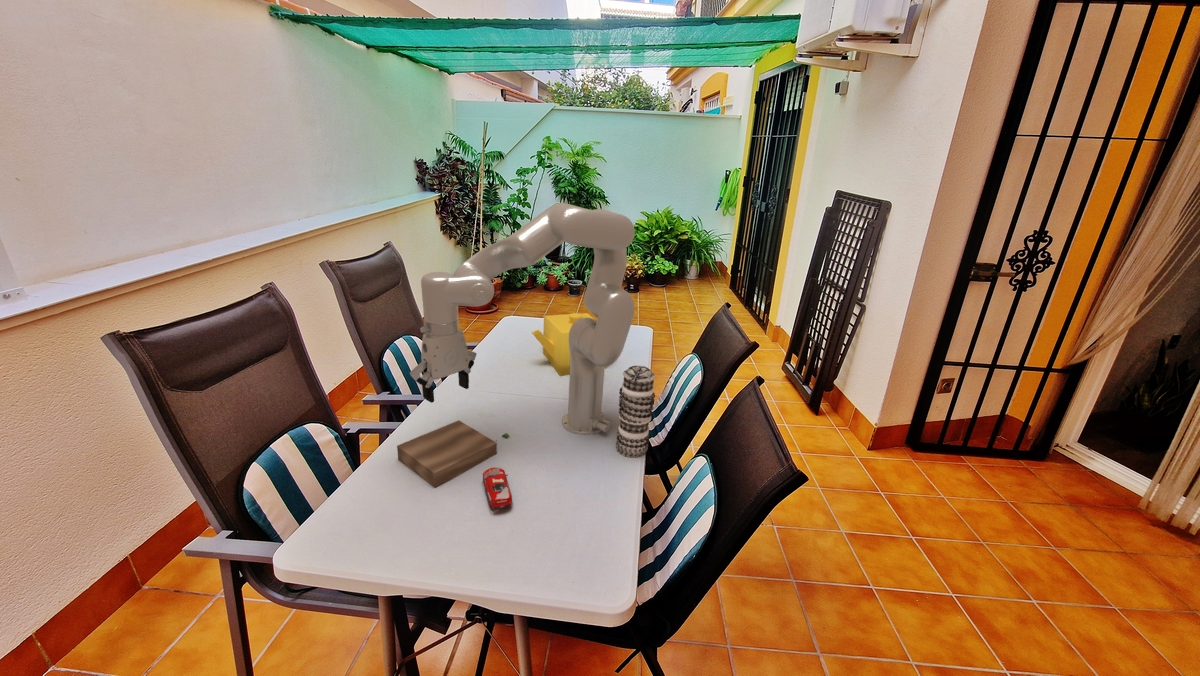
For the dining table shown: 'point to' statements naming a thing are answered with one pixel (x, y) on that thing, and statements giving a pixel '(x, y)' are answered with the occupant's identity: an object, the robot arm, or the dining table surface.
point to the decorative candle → (635, 411)
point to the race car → (497, 488)
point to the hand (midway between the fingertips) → (447, 393)
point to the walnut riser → (446, 452)
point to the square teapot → (558, 340)
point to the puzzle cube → (505, 436)
